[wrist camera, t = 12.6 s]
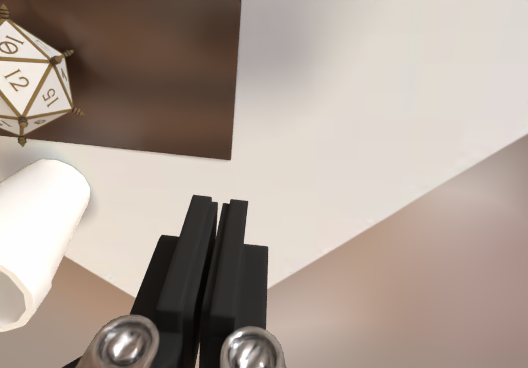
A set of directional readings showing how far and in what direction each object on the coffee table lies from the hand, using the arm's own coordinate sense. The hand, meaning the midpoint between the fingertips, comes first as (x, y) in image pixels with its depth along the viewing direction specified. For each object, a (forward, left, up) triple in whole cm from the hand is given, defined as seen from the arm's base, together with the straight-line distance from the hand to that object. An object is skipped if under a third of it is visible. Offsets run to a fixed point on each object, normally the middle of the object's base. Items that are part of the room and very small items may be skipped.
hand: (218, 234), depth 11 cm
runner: (+2, -13, -21) cm, 25 cm away
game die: (+2, -17, -21) cm, 27 cm away
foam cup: (+14, -18, -21) cm, 31 cm away
